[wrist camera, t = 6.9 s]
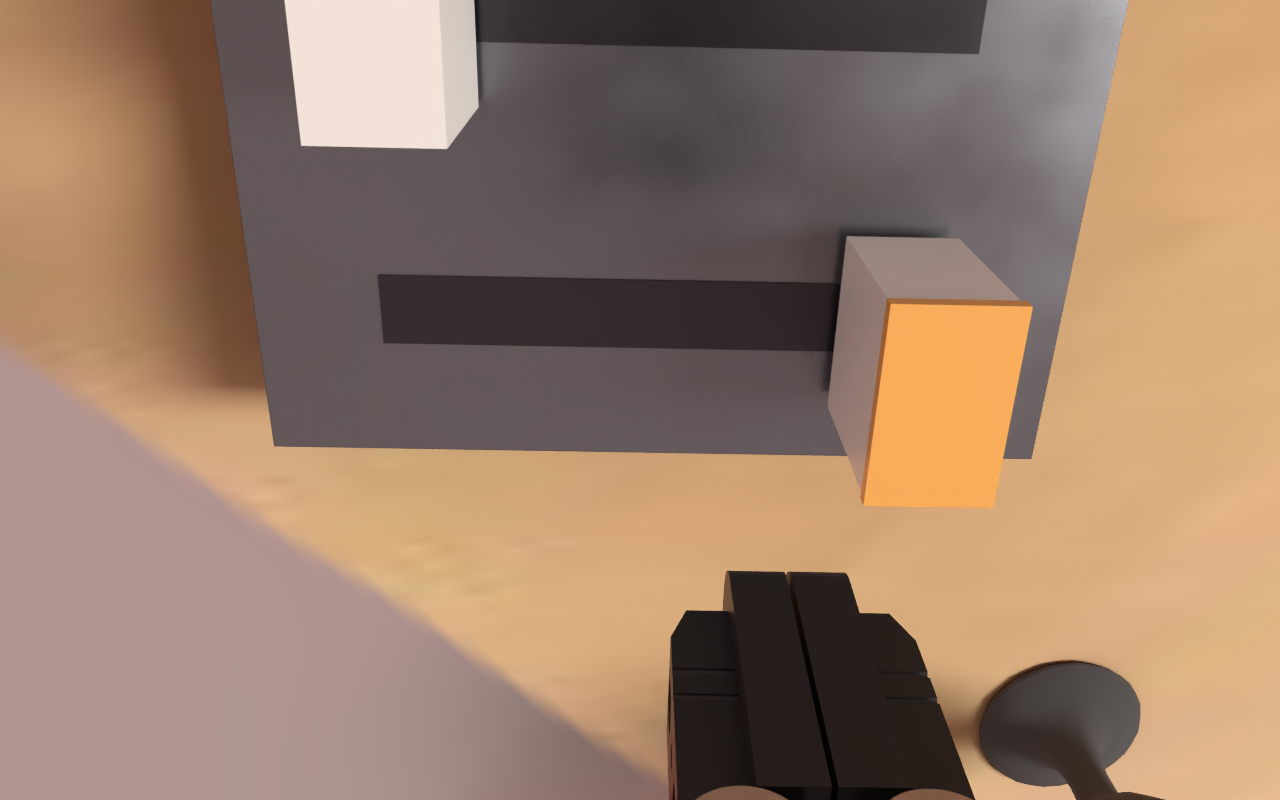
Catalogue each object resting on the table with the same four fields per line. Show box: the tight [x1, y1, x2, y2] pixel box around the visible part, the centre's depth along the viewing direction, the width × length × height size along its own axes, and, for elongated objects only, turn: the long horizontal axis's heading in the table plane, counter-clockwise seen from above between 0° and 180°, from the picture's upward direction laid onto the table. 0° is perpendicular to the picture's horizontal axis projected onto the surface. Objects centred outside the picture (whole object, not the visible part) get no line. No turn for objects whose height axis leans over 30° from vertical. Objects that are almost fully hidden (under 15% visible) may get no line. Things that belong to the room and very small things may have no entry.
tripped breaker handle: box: [827, 236, 1033, 508], centre depth 21 cm, size 2×4×4 cm, turn 179°
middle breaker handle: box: [285, 0, 479, 149], centre depth 18 cm, size 2×4×4 cm, turn 178°
